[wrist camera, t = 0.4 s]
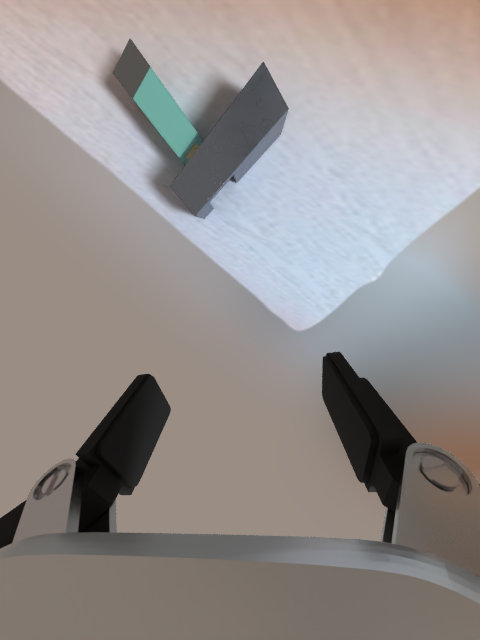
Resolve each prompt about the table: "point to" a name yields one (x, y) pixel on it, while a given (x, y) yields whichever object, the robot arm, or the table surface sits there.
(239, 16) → the table surface
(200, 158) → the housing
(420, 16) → the table surface
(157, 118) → the plug
